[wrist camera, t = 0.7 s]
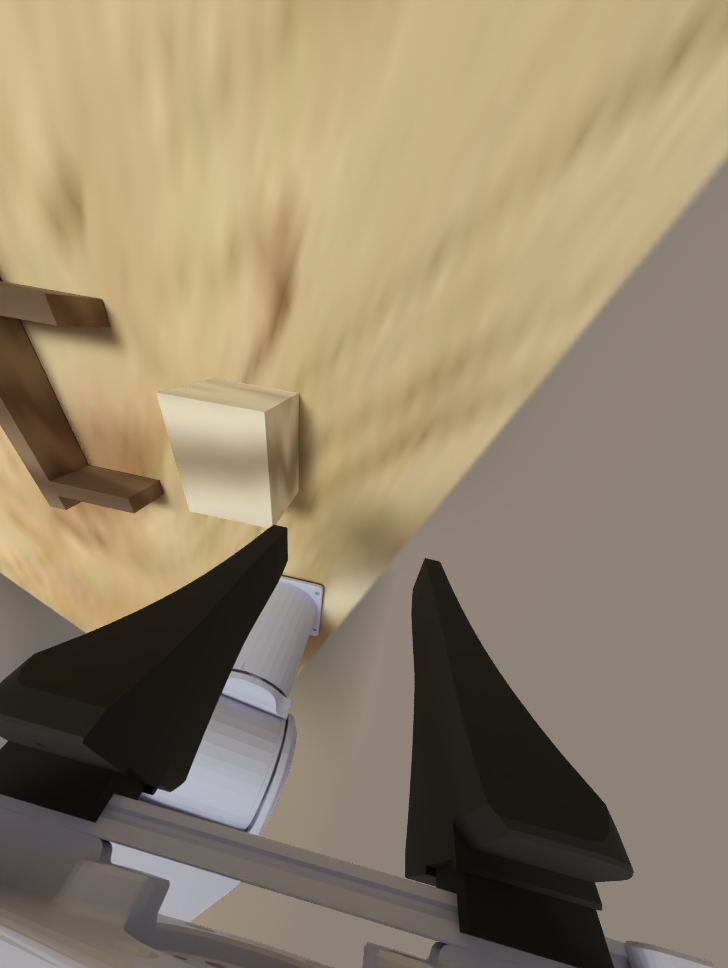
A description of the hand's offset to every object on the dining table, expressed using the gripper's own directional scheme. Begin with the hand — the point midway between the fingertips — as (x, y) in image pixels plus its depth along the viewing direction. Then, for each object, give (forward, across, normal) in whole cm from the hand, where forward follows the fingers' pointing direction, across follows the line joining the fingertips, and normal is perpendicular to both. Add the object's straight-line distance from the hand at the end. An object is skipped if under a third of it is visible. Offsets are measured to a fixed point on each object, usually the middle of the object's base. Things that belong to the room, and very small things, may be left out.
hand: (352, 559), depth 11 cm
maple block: (+10, +9, 0) cm, 13 cm away
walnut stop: (+9, +23, 0) cm, 25 cm away
